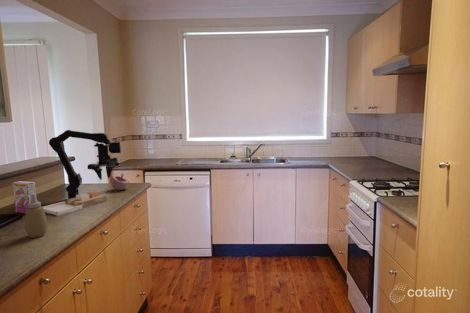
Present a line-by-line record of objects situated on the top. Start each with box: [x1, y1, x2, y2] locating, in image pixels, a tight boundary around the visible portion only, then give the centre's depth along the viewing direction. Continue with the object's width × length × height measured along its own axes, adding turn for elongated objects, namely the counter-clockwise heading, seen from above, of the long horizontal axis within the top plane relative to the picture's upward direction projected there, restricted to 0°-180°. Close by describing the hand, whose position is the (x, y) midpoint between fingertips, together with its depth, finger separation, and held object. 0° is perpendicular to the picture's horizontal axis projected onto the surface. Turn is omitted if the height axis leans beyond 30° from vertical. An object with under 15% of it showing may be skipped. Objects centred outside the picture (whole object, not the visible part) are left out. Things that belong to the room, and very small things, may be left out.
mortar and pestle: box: [110, 173, 130, 191], centre depth 211 cm, size 12×12×12 cm
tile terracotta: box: [86, 190, 101, 198], centre depth 185 cm, size 5×5×2 cm
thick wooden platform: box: [66, 194, 107, 209], centre depth 181 cm, size 14×16×3 cm
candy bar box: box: [11, 180, 38, 215], centre depth 163 cm, size 11×5×16 cm, turn 71°
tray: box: [42, 200, 83, 217], centre depth 168 cm, size 16×14×2 cm
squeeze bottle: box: [24, 194, 48, 239], centre depth 131 cm, size 8×8×18 cm
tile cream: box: [76, 192, 89, 200], centre depth 178 cm, size 5×5×2 cm
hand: (104, 178), depth 191 cm, fingers open, 5 cm apart
